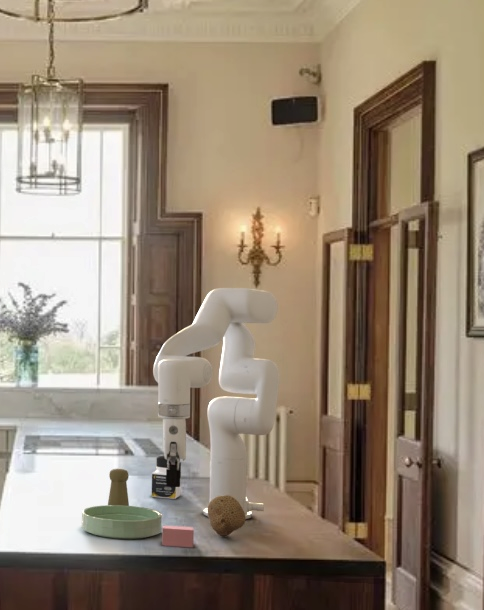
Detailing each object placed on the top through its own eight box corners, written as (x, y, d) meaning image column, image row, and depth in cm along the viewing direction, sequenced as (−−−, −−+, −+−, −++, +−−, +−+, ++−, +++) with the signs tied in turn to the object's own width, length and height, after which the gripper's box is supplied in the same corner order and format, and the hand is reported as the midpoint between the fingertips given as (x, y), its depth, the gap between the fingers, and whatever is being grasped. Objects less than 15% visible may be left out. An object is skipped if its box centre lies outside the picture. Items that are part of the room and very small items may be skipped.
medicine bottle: (151, 497, 293) (152, 455, 293) (157, 493, 300) (158, 452, 300) (175, 499, 290) (176, 457, 290) (180, 495, 297) (181, 454, 297)
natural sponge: (245, 534, 246) (245, 493, 246) (245, 542, 237) (245, 499, 237) (207, 531, 248) (208, 490, 248) (205, 539, 239) (206, 497, 240)
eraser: (193, 544, 234) (193, 527, 234) (193, 547, 231) (193, 530, 231) (162, 542, 235) (163, 525, 235) (162, 545, 232) (162, 528, 232)
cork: (128, 512, 270) (129, 471, 270) (105, 510, 271) (106, 470, 271) (130, 508, 276) (131, 467, 276) (108, 506, 277) (109, 466, 277)
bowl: (162, 525, 254) (162, 507, 254) (159, 542, 235) (159, 523, 235) (86, 521, 258) (87, 503, 258) (77, 537, 239) (77, 518, 239)
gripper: (189, 416, 231) (189, 490, 231) (190, 407, 248) (189, 476, 248) (156, 415, 232) (156, 489, 232) (159, 406, 249) (159, 475, 249)
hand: (173, 482), depth 240 cm, fingers open, 9 cm apart
